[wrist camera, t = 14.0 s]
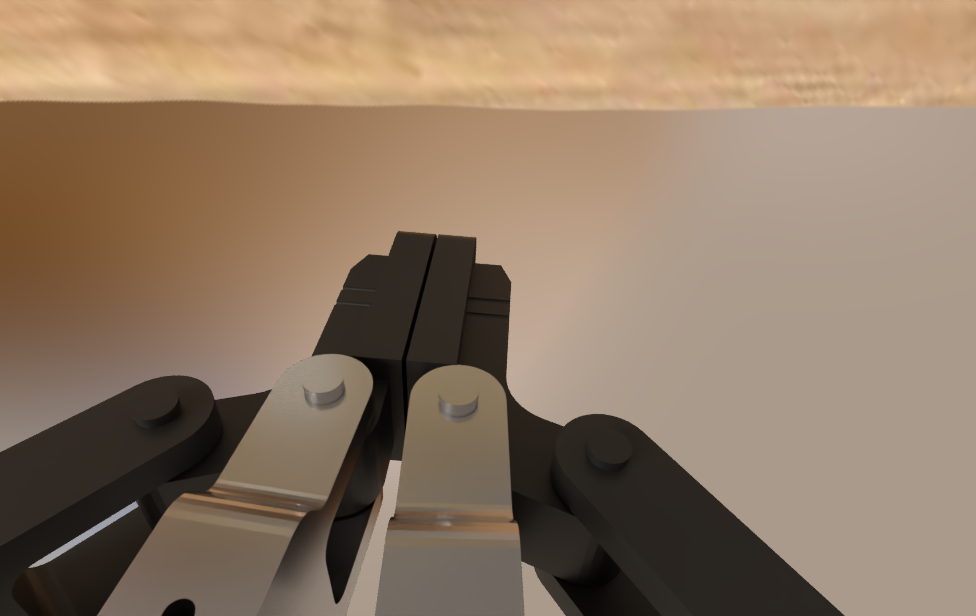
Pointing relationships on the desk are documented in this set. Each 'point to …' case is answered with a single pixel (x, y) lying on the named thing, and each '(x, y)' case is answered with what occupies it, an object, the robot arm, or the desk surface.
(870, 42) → the desk surface
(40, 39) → the desk surface
